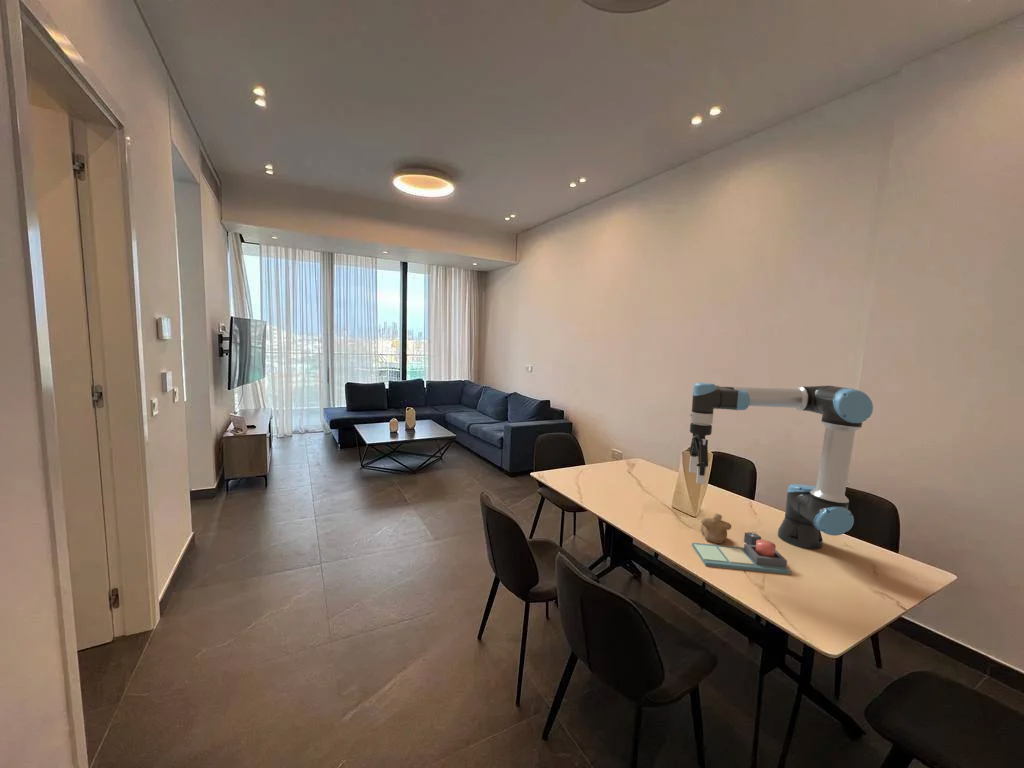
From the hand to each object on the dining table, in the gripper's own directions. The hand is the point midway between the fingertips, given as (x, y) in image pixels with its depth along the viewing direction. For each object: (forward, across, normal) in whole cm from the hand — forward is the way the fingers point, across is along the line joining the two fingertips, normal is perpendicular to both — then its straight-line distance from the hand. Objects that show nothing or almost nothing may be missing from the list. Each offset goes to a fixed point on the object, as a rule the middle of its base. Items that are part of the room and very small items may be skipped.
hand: (696, 477), depth 158 cm
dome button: (+24, +6, +24) cm, 35 cm away
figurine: (+27, -8, +10) cm, 30 cm away
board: (+27, +7, +15) cm, 32 cm away
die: (+27, -8, +25) cm, 38 cm away
